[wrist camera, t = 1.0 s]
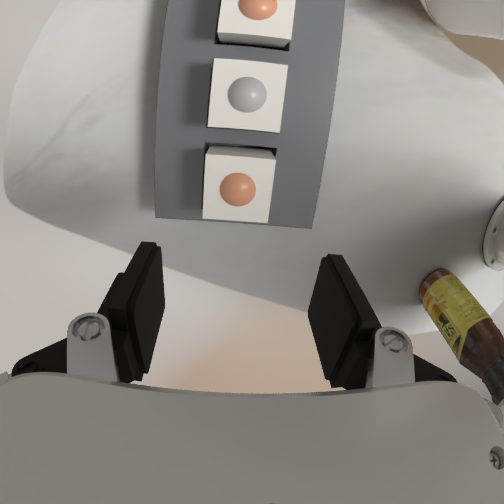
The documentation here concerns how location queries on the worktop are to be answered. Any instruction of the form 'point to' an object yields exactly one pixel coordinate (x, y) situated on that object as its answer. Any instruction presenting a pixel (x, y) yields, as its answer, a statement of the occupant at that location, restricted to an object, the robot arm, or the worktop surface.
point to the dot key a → (238, 184)
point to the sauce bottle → (466, 329)
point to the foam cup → (469, 16)
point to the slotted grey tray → (283, 144)
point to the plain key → (247, 95)
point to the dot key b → (256, 22)
